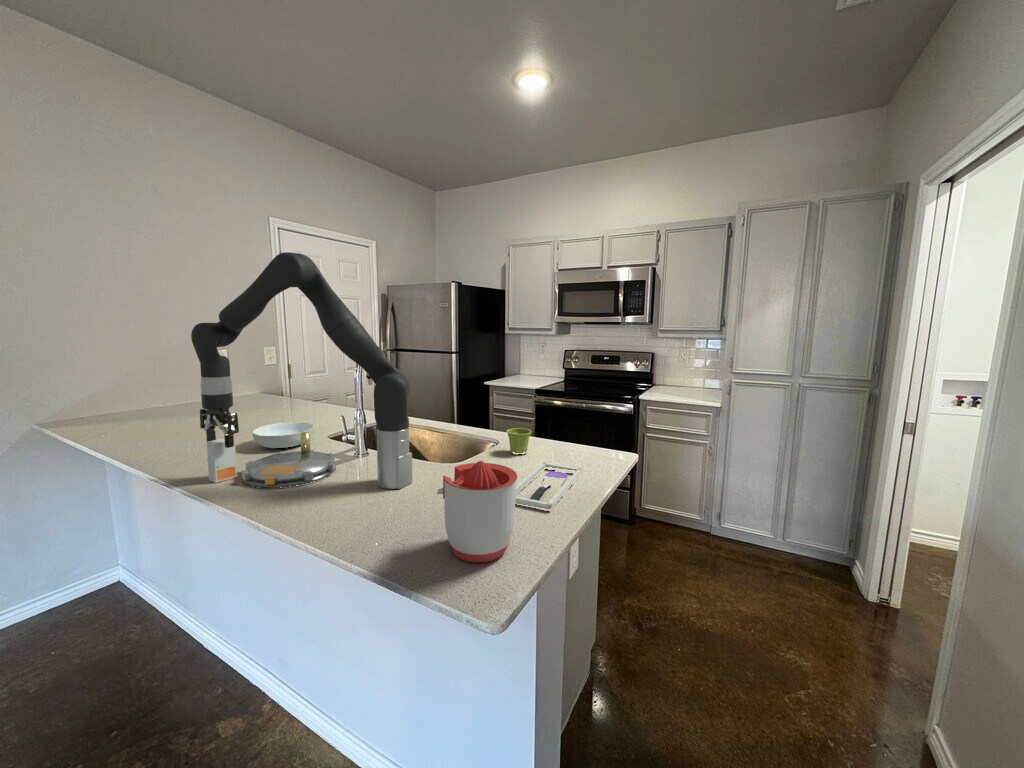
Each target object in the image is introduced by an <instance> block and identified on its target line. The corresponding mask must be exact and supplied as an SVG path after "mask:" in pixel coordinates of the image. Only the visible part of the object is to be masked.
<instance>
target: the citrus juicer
mask: <svg viewBox="0 0 1024 768" xmlns="http://www.w3.org/2000/svg"><path fill="white" fill-rule="evenodd" d="M453 474H454V475H453V476H454V480H452V477H450V476H448V475H447V476H446V475H445V474H444V475H443V476H442V481H443V482H442V485H443V486H442V487H441V488H439V489H438V490H437V492H436V494H437V495H442V499H443V500H444V502H443V503H444V512H443V513H444V524H445V531H446V535H447V540H448V543H449V546H450V549H451V550H452V552H453V554H454V556H456V557H457V558H458V559H461V560H463V561H465V562H471V563H489V562H488V561H490V562H492V561H494V560H497V559H498V558H501V557H502V556H503V555H504V554H505V553H506V551H507V548H508V546H509V544H510V541H511V537H512V535H513V531H514V526H515V515H516V505H515V493H516V485H517V480H518V474H517V473H516V471H515V470H514V469H513V468H511V467H508V466H506V465H503V464H497V463H489V462H484V461H483V460H479V461H477V462H470V463H464V464H459V465H456V466H454V473H453Z"/></svg>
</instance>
